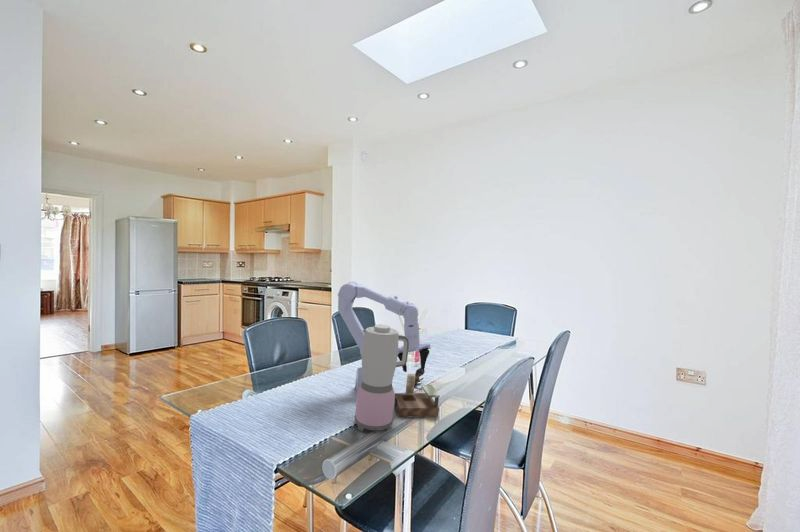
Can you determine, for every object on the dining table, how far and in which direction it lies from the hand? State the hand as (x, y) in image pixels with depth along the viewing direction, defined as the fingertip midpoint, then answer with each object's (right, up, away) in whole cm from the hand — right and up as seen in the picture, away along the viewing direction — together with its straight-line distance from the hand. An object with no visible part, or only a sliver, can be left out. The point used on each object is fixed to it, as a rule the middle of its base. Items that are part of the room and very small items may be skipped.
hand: (413, 369), depth 138 cm
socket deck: (0, -11, -11) cm, 15 cm away
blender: (-13, -11, -24) cm, 29 cm away
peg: (-2, -10, 0) cm, 10 cm away
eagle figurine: (+2, -10, +13) cm, 17 cm away
